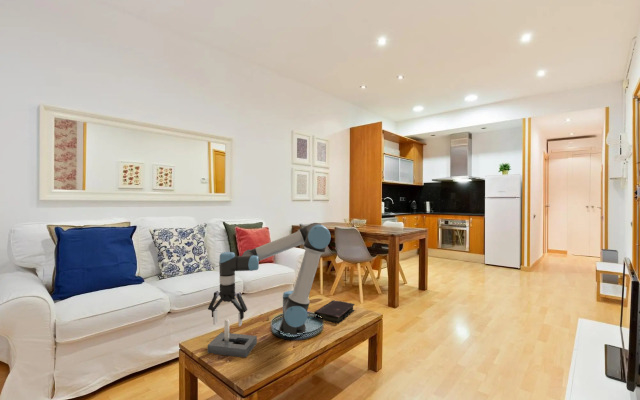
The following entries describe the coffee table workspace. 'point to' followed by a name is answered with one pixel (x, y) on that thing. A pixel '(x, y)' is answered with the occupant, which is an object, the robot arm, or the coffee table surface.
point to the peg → (226, 330)
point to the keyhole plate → (232, 345)
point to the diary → (335, 311)
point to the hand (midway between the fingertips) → (227, 324)
